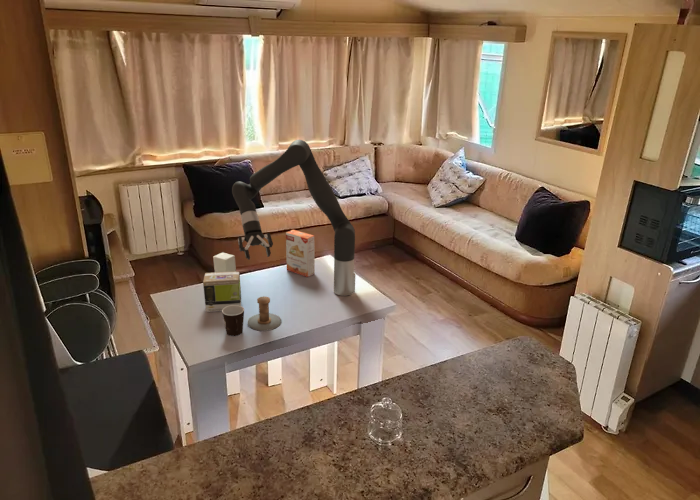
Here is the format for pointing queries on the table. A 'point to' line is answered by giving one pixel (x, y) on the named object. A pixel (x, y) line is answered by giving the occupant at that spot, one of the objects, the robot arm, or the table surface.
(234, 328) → the coffee mug
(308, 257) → the cracker box
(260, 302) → the wooden turned knob
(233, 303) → the tea box
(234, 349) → the table surface
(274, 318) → the felt mat
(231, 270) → the skincare box
